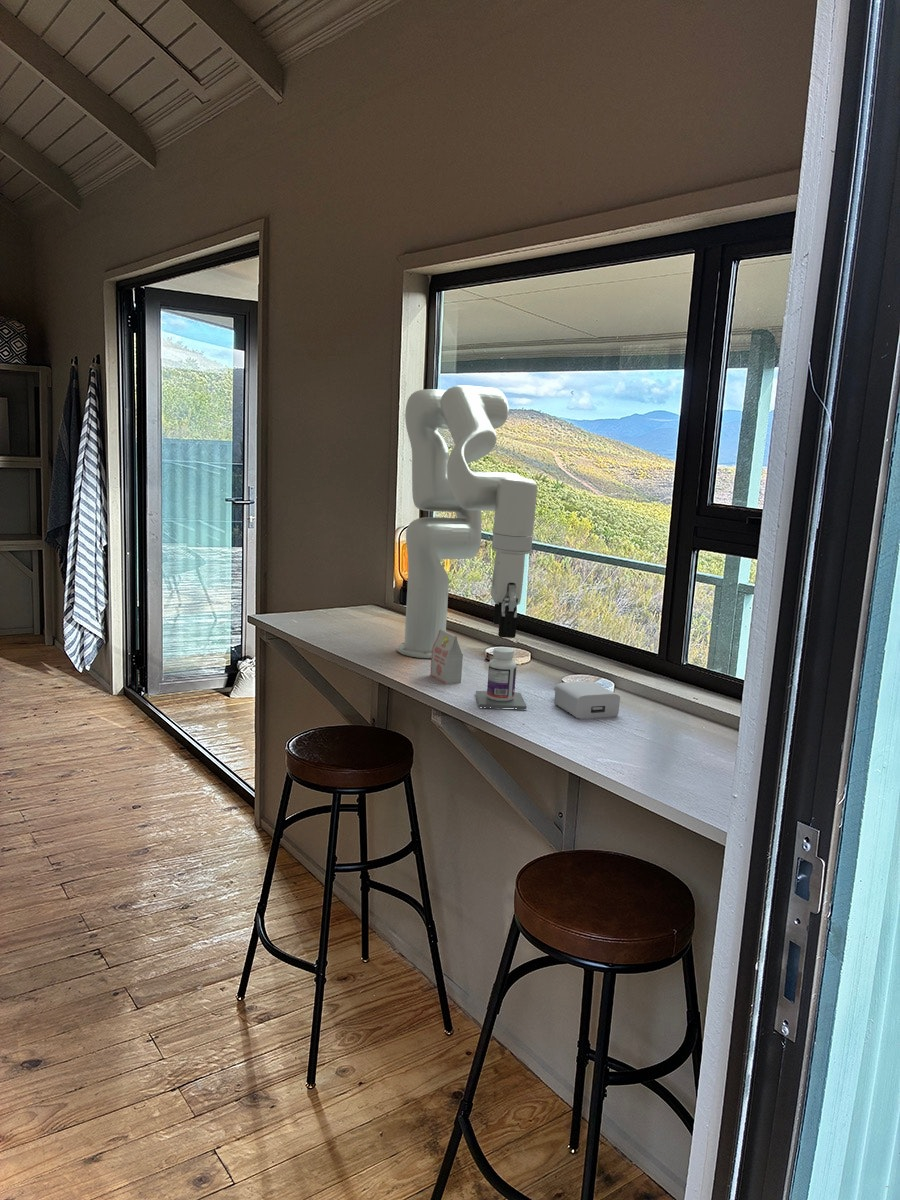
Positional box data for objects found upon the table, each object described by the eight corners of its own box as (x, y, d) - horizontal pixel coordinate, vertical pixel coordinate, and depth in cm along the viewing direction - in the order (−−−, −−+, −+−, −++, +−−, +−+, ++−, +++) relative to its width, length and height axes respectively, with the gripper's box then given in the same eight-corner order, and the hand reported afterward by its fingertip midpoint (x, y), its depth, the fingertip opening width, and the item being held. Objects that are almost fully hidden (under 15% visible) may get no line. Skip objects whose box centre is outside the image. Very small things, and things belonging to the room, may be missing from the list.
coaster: (475, 694, 182) (475, 690, 182) (520, 696, 183) (520, 692, 182) (479, 708, 173) (479, 704, 173) (526, 710, 174) (526, 706, 174)
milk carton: (445, 674, 196) (448, 628, 194) (461, 682, 190) (464, 636, 188) (430, 675, 194) (433, 629, 192) (445, 684, 188) (448, 637, 186)
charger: (579, 694, 188) (618, 717, 174) (539, 696, 184) (575, 720, 170) (581, 672, 187) (620, 693, 173) (541, 674, 183) (578, 695, 170)
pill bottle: (499, 692, 182) (503, 645, 180) (519, 699, 178) (523, 650, 176) (480, 696, 178) (484, 648, 176) (500, 703, 174) (504, 654, 173)
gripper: (488, 534, 180) (480, 618, 184) (496, 549, 164) (488, 641, 167) (525, 537, 181) (517, 620, 185) (538, 552, 164) (529, 643, 168)
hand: (503, 630), depth 176 cm, fingers open, 9 cm apart
